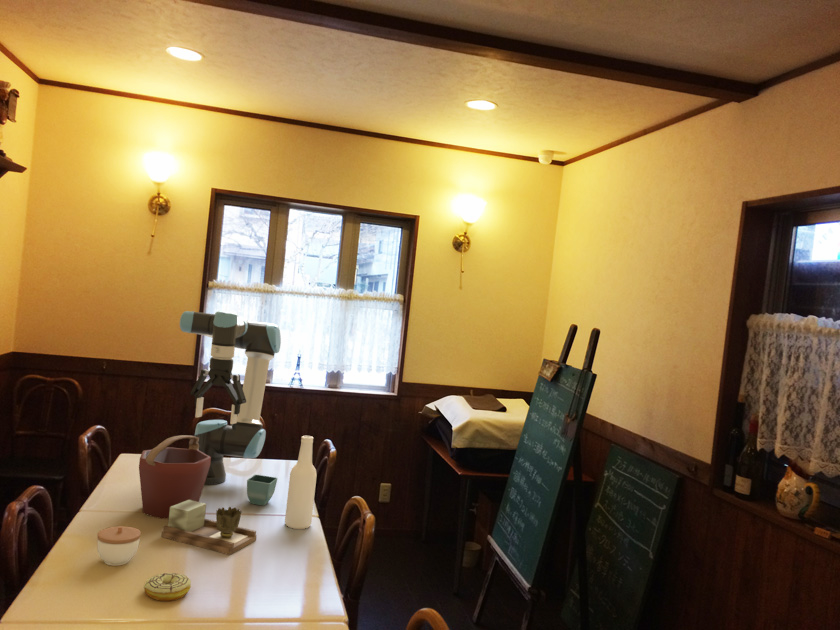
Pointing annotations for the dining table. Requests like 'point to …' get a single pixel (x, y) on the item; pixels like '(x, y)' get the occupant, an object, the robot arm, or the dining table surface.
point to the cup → (227, 521)
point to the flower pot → (260, 489)
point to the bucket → (172, 475)
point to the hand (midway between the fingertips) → (215, 420)
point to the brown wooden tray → (203, 529)
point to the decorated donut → (167, 586)
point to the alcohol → (301, 488)
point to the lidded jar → (118, 544)
